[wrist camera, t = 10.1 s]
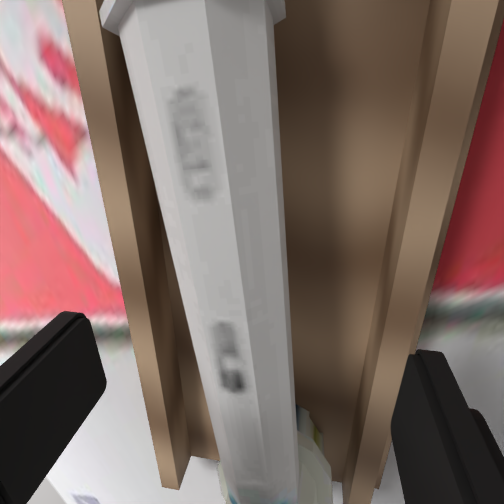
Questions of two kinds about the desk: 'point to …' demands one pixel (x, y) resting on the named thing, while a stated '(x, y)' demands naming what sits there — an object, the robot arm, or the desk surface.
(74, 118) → the desk surface
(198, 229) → the toothbrush head
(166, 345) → the fitting board
